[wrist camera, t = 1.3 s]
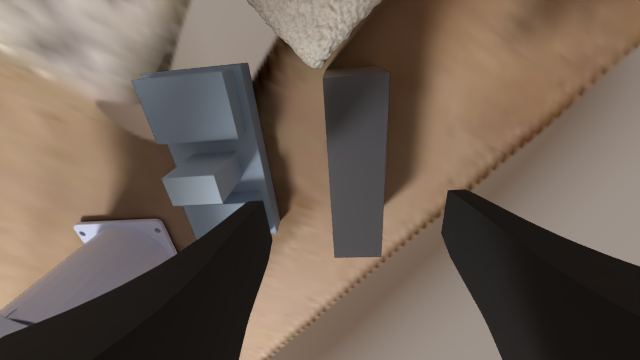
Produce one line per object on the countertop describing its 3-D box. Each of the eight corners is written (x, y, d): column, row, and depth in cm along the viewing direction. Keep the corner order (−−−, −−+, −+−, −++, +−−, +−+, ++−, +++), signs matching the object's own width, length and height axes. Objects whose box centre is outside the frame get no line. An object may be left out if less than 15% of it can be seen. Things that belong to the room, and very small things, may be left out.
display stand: (280, 221, 21) (265, 267, 17) (211, 224, 22) (179, 269, 17) (248, 62, 16) (213, 69, 11) (156, 72, 16) (88, 82, 12)
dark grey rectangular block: (372, 215, 20) (381, 256, 16) (334, 216, 21) (334, 257, 17) (376, 65, 15) (390, 72, 11) (326, 69, 16) (322, 77, 12)
